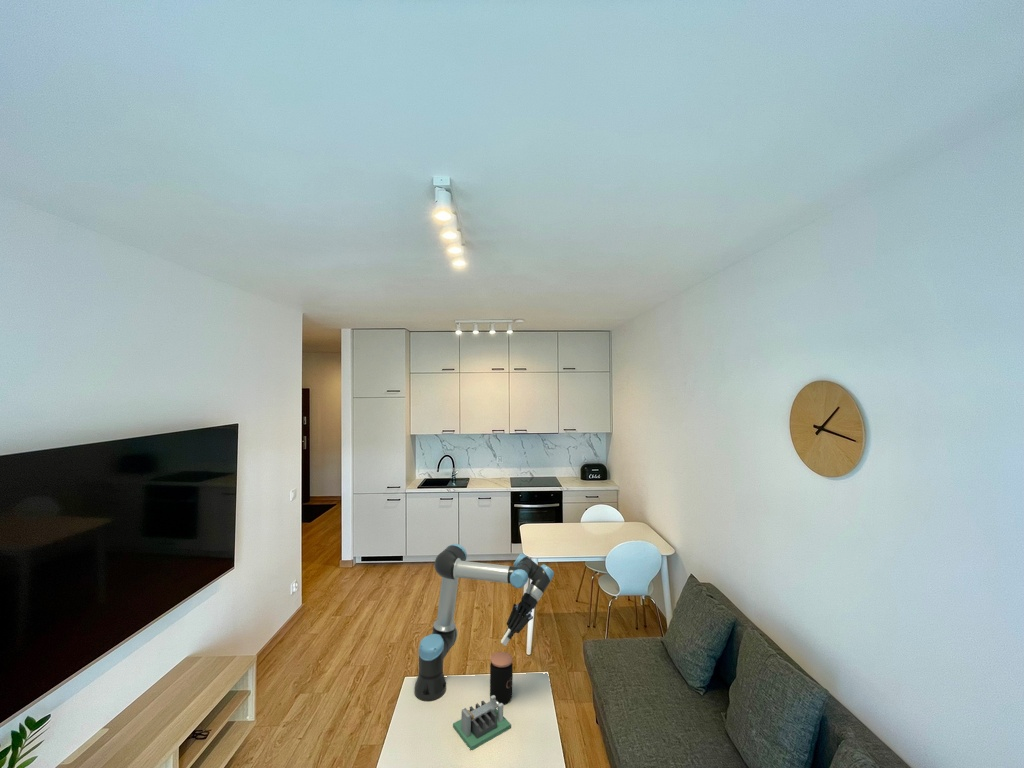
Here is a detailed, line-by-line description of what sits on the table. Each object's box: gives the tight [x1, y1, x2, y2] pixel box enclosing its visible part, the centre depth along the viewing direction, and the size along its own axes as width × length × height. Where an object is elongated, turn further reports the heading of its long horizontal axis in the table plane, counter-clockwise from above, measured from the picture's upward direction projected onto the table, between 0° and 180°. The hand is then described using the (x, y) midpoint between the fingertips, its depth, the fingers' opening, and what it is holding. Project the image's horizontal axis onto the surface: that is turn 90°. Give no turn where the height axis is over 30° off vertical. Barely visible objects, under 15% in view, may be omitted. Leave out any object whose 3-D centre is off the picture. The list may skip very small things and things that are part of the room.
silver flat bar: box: [467, 699, 500, 721], centre depth 177 cm, size 4×15×2 cm, turn 126°
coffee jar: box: [489, 651, 514, 705], centre depth 195 cm, size 11×11×18 cm
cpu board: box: [452, 695, 512, 751], centre depth 176 cm, size 15×20×10 cm
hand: (502, 644), depth 186 cm, fingers closed
